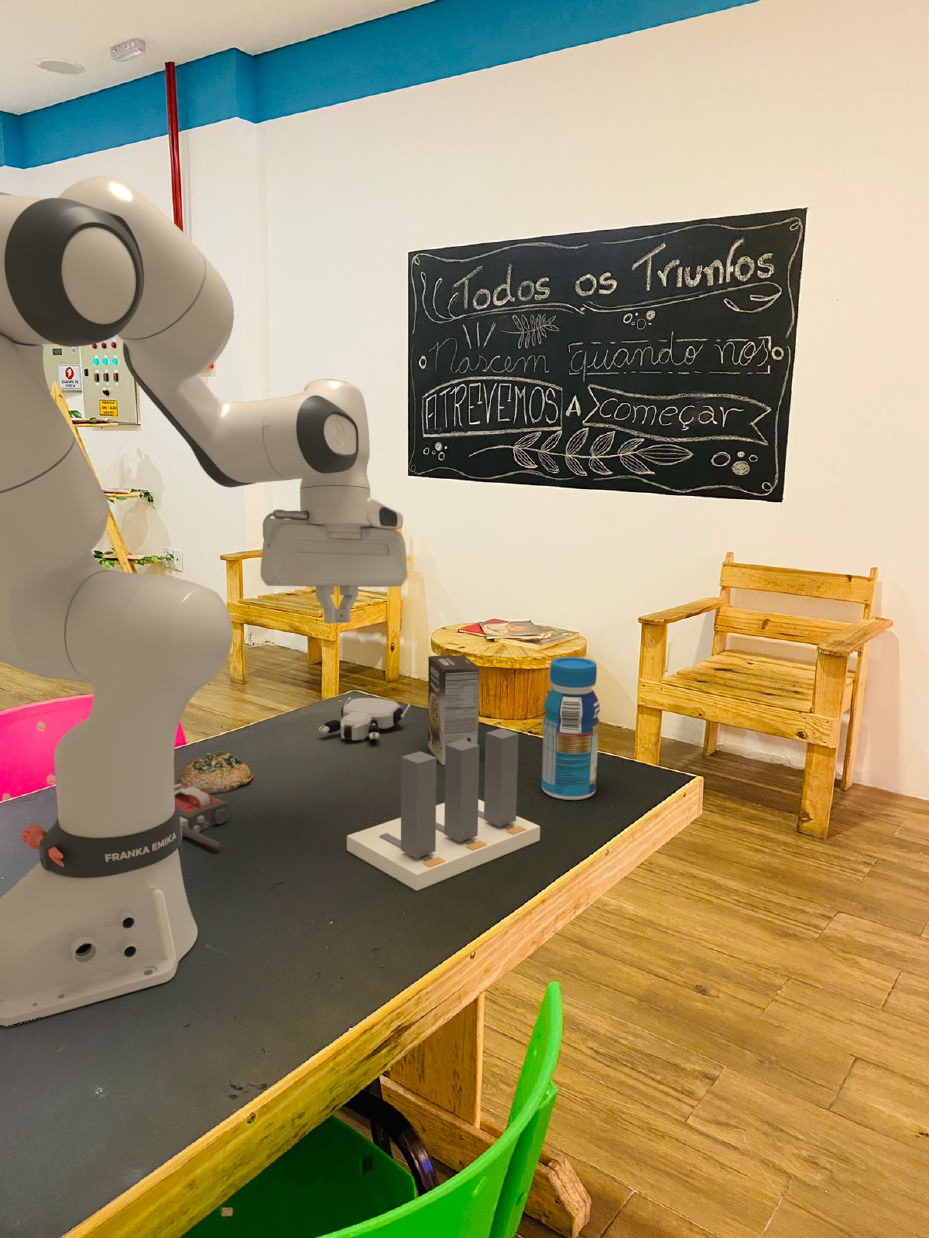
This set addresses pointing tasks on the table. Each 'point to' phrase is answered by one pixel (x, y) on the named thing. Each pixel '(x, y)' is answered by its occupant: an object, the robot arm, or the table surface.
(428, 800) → the tall grey switch
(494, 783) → the right switch
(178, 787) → the walkie-talkie
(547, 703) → the beverage bottle
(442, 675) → the coffee box
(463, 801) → the grey rectangular pillar
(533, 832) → the switch bank
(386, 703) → the robot toy
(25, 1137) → the table surface
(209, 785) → the bread roll
